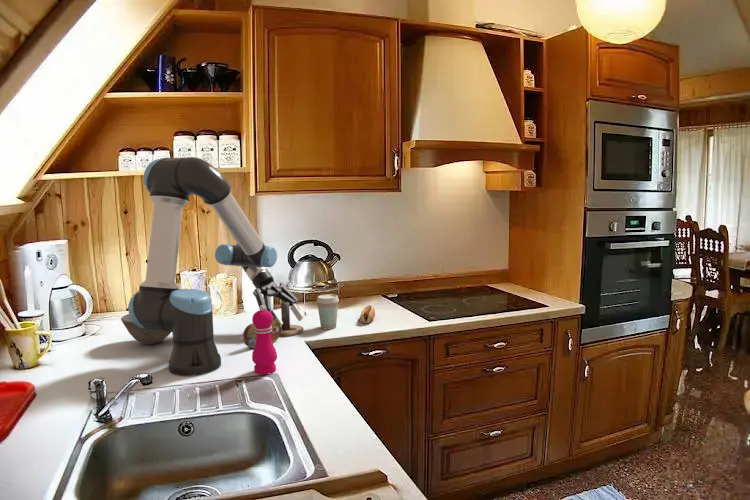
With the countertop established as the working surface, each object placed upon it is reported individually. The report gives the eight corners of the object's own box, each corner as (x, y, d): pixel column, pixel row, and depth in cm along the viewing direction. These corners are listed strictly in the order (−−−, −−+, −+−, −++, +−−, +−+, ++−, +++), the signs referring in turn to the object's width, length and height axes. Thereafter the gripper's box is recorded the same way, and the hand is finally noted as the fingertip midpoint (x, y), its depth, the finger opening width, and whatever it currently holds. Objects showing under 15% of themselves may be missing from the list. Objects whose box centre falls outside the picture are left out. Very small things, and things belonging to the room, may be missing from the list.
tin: (248, 351, 176) (247, 326, 174) (242, 349, 177) (240, 325, 176) (282, 340, 187) (281, 316, 186) (275, 338, 189) (274, 315, 188)
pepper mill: (266, 377, 152) (263, 309, 149) (247, 373, 156) (244, 306, 153) (282, 369, 158) (279, 303, 156) (263, 365, 162) (260, 301, 159)
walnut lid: (292, 338, 189) (291, 308, 188) (261, 334, 194) (260, 305, 192) (309, 329, 201) (309, 300, 200) (280, 326, 206) (279, 298, 204)
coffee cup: (336, 330, 197) (335, 299, 196) (314, 329, 199) (313, 298, 198) (342, 324, 206) (341, 294, 204) (321, 323, 207) (320, 293, 206)
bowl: (151, 354, 174) (149, 324, 173) (111, 347, 182) (108, 319, 181) (192, 338, 191) (191, 311, 190) (154, 332, 199) (152, 306, 198)
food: (373, 324, 205) (372, 312, 204) (358, 324, 206) (358, 312, 205) (376, 315, 219) (376, 303, 218) (363, 315, 219) (362, 303, 219)
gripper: (277, 277, 213) (307, 321, 206) (232, 287, 195) (263, 335, 188) (286, 265, 209) (317, 309, 202) (241, 274, 191) (273, 323, 184)
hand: (291, 322), depth 195 cm, fingers open, 10 cm apart
